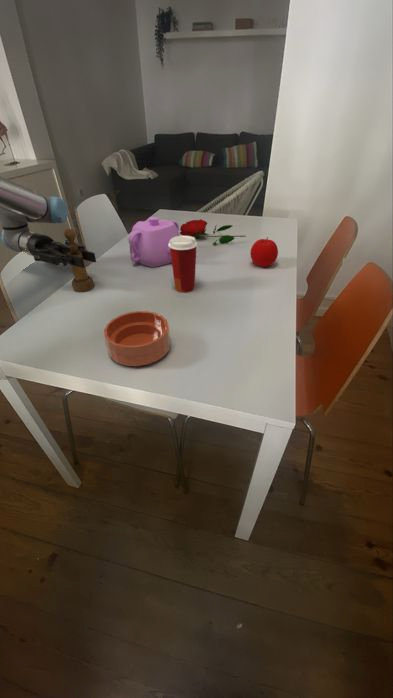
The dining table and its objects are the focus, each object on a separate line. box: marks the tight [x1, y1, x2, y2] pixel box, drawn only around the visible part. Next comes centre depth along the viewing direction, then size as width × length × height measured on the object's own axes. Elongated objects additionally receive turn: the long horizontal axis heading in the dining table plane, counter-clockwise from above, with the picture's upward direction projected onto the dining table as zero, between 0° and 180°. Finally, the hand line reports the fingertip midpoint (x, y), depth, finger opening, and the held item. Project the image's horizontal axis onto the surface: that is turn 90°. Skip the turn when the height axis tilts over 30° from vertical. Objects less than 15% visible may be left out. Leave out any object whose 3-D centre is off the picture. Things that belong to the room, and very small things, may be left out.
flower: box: [179, 218, 247, 246], centre depth 128 cm, size 9×10×30 cm
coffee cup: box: [168, 235, 198, 293], centre depth 94 cm, size 8×8×15 cm
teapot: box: [127, 216, 181, 268], centre depth 114 cm, size 19×21×14 cm
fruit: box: [249, 236, 279, 268], centre depth 108 cm, size 9×9×10 cm
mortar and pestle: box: [63, 228, 95, 293], centre depth 95 cm, size 7×6×18 cm
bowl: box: [103, 310, 171, 367], centre depth 73 cm, size 14×14×6 cm
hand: (88, 260), depth 92 cm, fingers closed on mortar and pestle, 4 cm apart
